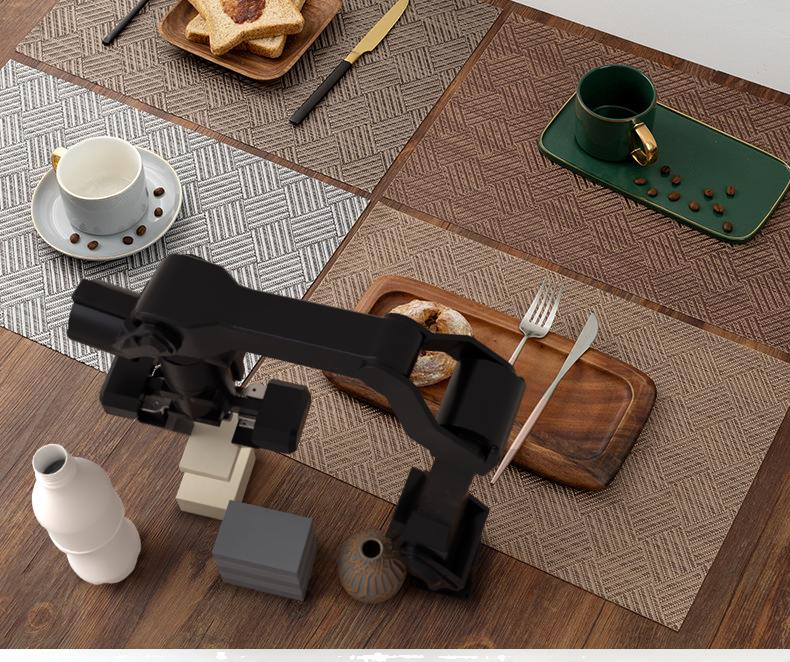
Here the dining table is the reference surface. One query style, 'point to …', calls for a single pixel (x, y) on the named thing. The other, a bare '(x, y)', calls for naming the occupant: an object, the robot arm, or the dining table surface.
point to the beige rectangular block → (215, 489)
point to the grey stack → (266, 550)
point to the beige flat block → (211, 451)
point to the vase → (370, 567)
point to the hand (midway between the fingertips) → (217, 437)
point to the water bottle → (84, 515)
